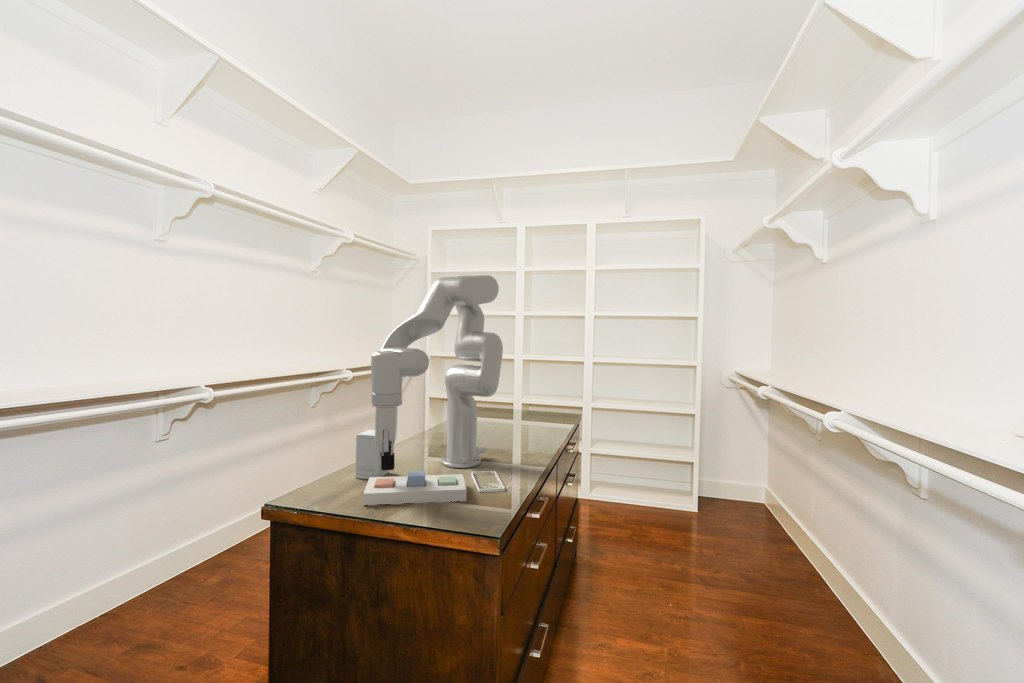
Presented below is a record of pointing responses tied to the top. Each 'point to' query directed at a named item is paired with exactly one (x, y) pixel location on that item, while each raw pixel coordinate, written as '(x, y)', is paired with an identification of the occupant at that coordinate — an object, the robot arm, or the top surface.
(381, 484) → the button terracotta
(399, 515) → the top surface
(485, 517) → the top surface
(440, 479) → the button sage
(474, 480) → the white rectangular frame
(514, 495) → the top surface
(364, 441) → the supplement box
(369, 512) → the top surface
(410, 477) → the button slate
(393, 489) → the button panel
